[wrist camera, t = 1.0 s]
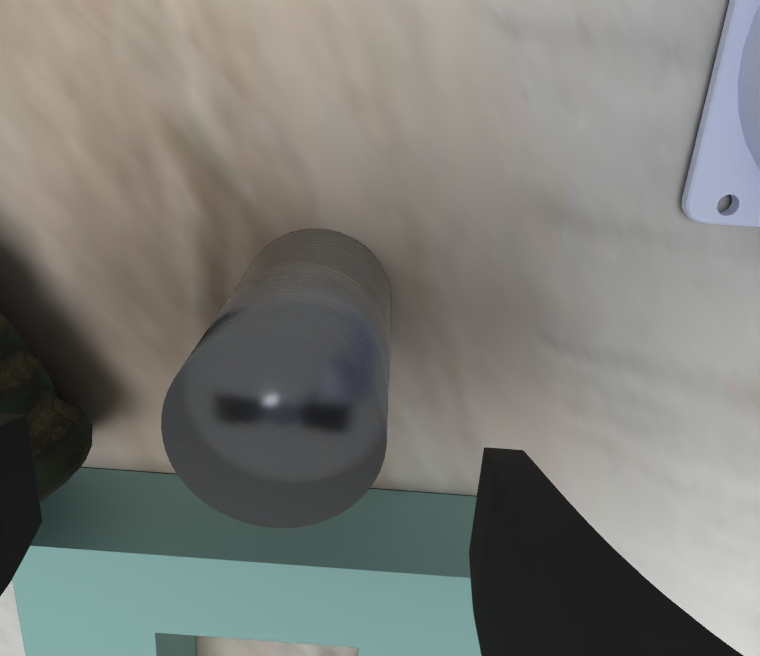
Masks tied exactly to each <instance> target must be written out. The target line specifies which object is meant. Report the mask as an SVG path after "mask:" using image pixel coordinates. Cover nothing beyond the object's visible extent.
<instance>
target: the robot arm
mask: <svg viewBox="0 0 760 656" xmlns="http://www.w3.org/2000/svg"><path fill="white" fill-rule="evenodd" d="M725 195H731V197H732V203H731V205H730V207H729V208H728V209H727V210H725V211H724V212H718V210H717V204H718V202H719V200H720V199H721V198H722V197H724V196H725ZM682 209H683V212H684V214H685V215H686V216H688V217H689V218H690V219H692V220H693V221H695V222H699V223H704V224H718V225H731V226H745V227H759V228H760V0H730V1H729V5H728V9H727V14H726V18H725V22H724V26H723V30H722V34H721V39H720V43H719V47H718V51H717V55H716V59H715V64H714V68H713V72H712V76H711V80H710V84H709V89H708V93H707V97H706V101H705V105H704V109H703V114H702V118H701V122H700V126H699V130H698V134H697V139H696V143H695V147H694V151H693V155H692V159H691V164H690V168H689V172H688V176H687V180H686V184H685V189H684V193H683V197H682ZM41 523H42V516H41V509H40V502H39V496H38V489H37V482H36V476H35V469H34V462H33V456H32V449H31V443H30V436H29V429H28V423H27V416H26V415H25V414H11V413H0V596H1V595H2V593H3V592H4V590H5V589H6V587H7V586H8V584H9V583H10V581H11V580H12V578H13V577H14V575H15V573H16V571H17V569H18V568H19V566H20V564H21V562H22V560H23V558H24V557H25V555H26V553H27V551H28V549H29V547H30V545H31V543H32V541H33V539H34V537H35V535H36V533H37V531H38V529H39V527H40V525H41ZM469 562H470V578H471V592H472V604H473V614H474V619H475V625H476V630H477V635H478V640H479V646H480V651H481V656H743V655H741V654H740V653H739V652H737V651H736V650H734V649H733V648H732V647H730V646H729V645H727V644H726V643H725V642H723V641H722V640H721V639H719V638H718V637H717V636H715V635H714V634H713V633H711V632H710V631H709V630H707V629H706V628H705V627H704V626H702V625H701V624H700V623H699V622H697V621H696V620H695V619H694V618H692V617H691V616H690V615H689V614H687V613H686V612H685V611H684V610H682V609H681V608H680V607H679V606H677V605H676V604H675V603H674V602H672V601H671V600H670V599H669V598H667V597H666V596H665V595H664V594H663V593H662V592H660V591H659V590H658V589H657V588H656V587H655V586H653V585H652V584H651V583H650V582H649V581H648V580H647V579H646V578H644V577H643V576H642V575H641V574H640V573H639V572H638V571H637V570H636V569H635V568H634V567H633V566H632V565H630V564H629V563H628V562H627V561H626V560H625V559H624V558H623V557H622V556H621V555H620V554H619V553H618V552H617V551H616V550H614V549H613V548H612V547H611V546H610V545H609V544H608V543H607V542H606V541H605V540H604V539H603V538H602V537H601V536H600V535H599V534H598V533H597V531H596V530H595V529H594V528H593V527H592V526H591V525H590V524H589V523H588V522H587V521H586V520H585V519H584V518H583V517H582V516H581V515H580V514H579V513H578V512H577V510H576V509H575V508H574V507H573V506H572V505H571V504H570V503H569V502H568V501H567V500H566V498H565V497H564V496H563V495H562V494H561V493H560V492H559V491H558V489H557V488H556V487H555V486H554V485H553V484H552V483H551V481H550V480H549V479H548V478H547V477H546V476H545V475H544V473H543V472H542V471H541V470H540V469H539V468H538V466H537V465H536V464H535V463H534V462H533V461H532V460H531V458H530V457H529V456H528V455H527V454H526V453H525V452H524V451H523V450H512V449H498V448H484V453H483V459H482V466H481V473H480V480H479V486H478V493H477V500H476V507H475V513H474V520H473V527H472V534H471V540H470V547H469Z"/></svg>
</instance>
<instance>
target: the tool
mask: <svg viewBox="0 0 760 656" xmlns="http://www.w3.org/2000/svg"><path fill="white" fill-rule="evenodd" d="M0 413H11V414H25V415H26V416H27V423H28V429H29V436H30V443H31V449H32V456H33V462H34V469H35V476H36V482H37V489H38V496H39V502H41V501H42V500H44V499H45V498H47V497H48V496H49V495H51V494H52V493H53V492H55V491H56V490H57V489H58V488H60V487H61V486H62V485H64V484H65V483H66V482H67V481H68V480H69V479H70V478H71V477H72V476H73V474H74V473H75V472H77V471H78V470H79V468H80V467H81V465H82V464H83V463H84V461H85V460H86V458H87V456H88V453H89V451H90V448H91V446H92V424H91V422H90V420H89V418H88V417H87V415H86V414H85V412H84V411H83V410H82V409H81V408H79V407H77V406H75V405H72V404H69V403H66V402H64V401H62V400H61V399H59V398H58V397H57V396H56V393H55V390H54V387H53V383H52V380H51V378H50V376H49V374H48V372H47V371H46V369H45V368H44V367H43V366H42V364H41V363H40V362H39V361H38V360H37V359H36V358H35V357H34V356H32V355H31V353H30V352H29V350H28V349H27V348H26V346H25V343H24V342H23V340H22V338H21V336H20V335H19V334H18V332H17V330H16V329H15V327H14V326H13V325H12V323H11V322H10V321H9V320H8V319H7V318H6V317H5V316H4V314H3V313H2V312H1V311H0Z"/></svg>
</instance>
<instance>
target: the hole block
mask: <svg viewBox="0 0 760 656" xmlns="http://www.w3.org/2000/svg"><path fill="white" fill-rule="evenodd" d="M476 500H477V497H476V496H462V495H448V494H435V493H421V492H407V491H394V490H380V489H369V490H368V491H367V492H366V493H365V494H364V495H363V497H362V498H361V499H360V500H359V501H357V502H356V503H355V504H354V505H353V506H351V507H350V508H349V509H347V510H345V511H344V512H342V513H341V514H339V515H337V516H335V517H333V518H330V519H328V520H326V521H323V522H320V523H317V524H313V525H308V526H303V527H296V528H269V527H261V526H256V525H252V524H248V523H244V522H241V521H238V520H236V519H233V518H230V517H228V516H226V515H224V514H222V513H220V512H218V511H217V510H215V509H213V508H212V507H210V506H208V505H207V504H206V503H204V502H203V501H202V500H201V499H199V498H198V497H197V496H196V495H195V494H194V493H193V492H192V491H191V490H190V489H189V488H188V487H187V486H186V485H185V484H184V482H183V481H182V480H181V479H180V477H179V476H178V475H176V474H162V473H149V472H135V471H121V470H108V469H94V468H79V470H78V471H77V472H75V473H74V474H73V476H72V477H71V478H70V479H69V480H68V481H67V482H66V483H65V484H64V485H62V486H61V487H60V488H58V489H57V490H56V491H55V492H53V493H52V494H51V495H49V496H48V497H47V498H45V499H44V500H42V501H41V502H40V509H41V516H42V523H41V525H40V527H39V529H38V531H37V533H36V535H35V537H34V539H33V541H32V543H31V545H30V547H29V549H28V551H27V553H26V555H25V557H24V558H23V560H22V562H21V564H20V566H19V568H18V569H17V571H16V573H15V575H14V577H13V578H12V582H13V588H14V593H15V599H16V604H17V610H18V615H19V621H20V626H21V632H22V638H23V643H24V649H25V654H26V656H196V636H208V637H222V638H235V639H249V640H262V641H276V642H290V643H303V644H317V645H331V646H344V647H358V656H481V651H480V646H479V640H478V635H477V630H476V625H475V619H474V614H473V604H472V592H471V578H470V562H469V547H470V540H471V534H472V527H473V520H474V513H475V507H476Z"/></svg>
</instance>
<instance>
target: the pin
mask: <svg viewBox="0 0 760 656" xmlns="http://www.w3.org/2000/svg"><path fill="white" fill-rule="evenodd" d="M390 327H391V291H390V286H389V282H388V278H387V276H386V274H385V271H384V269H383V268H382V266H381V264H380V263H379V261H378V260H377V259H376V257H375V256H374V255H373V254H372V253H371V252H370V251H369V250H368V249H367V248H366V247H365V246H363V245H362V244H361V243H359V242H358V241H356V240H355V239H353V238H351V237H349V236H347V235H344V234H342V233H339V232H335V231H332V230H326V229H304V230H298V231H295V232H291V233H288V234H286V235H283V236H281V237H280V238H278V239H276V240H274V241H273V242H272V243H270V244H269V245H268V246H266V248H265V249H264V250H263V251H262V252H261V253H260V254H259V255H258V257H257V258H256V259H255V261H254V262H253V264H252V265H251V267H250V268H249V270H248V271H247V272H246V274H245V275H244V277H243V278H242V280H241V281H240V283H239V284H238V286H237V287H236V289H235V290H234V292H233V293H232V295H231V296H230V297H229V299H228V300H227V302H226V303H225V305H224V306H223V308H222V309H221V311H220V312H219V314H218V315H217V317H216V318H215V320H214V321H213V322H212V324H211V325H210V327H209V328H208V330H207V331H206V333H205V334H204V336H203V337H202V339H201V340H200V342H199V343H198V345H197V346H196V347H195V349H194V350H193V352H192V353H191V355H190V356H189V358H188V359H187V361H186V362H185V364H184V365H183V367H182V368H181V370H180V371H179V373H178V374H177V375H176V377H175V378H174V380H173V382H172V384H171V386H170V388H169V390H168V392H167V395H166V398H165V401H164V404H163V410H162V424H161V429H162V436H163V442H164V446H165V449H166V453H167V455H168V457H169V460H170V462H171V464H172V466H173V468H174V469H175V471H176V473H177V474H178V476H179V477H180V479H181V480H182V481H183V482H184V484H185V485H186V486H187V487H188V488H189V489H190V490H191V491H192V492H193V493H194V494H195V495H196V496H197V497H198V498H199V499H201V500H202V501H203V502H204V503H206V504H207V505H208V506H210V507H212V508H213V509H215V510H217V511H218V512H220V513H222V514H224V515H226V516H228V517H230V518H233V519H236V520H238V521H241V522H244V523H248V524H252V525H256V526H261V527H269V528H296V527H303V526H308V525H313V524H317V523H320V522H323V521H326V520H328V519H330V518H333V517H335V516H337V515H339V514H341V513H342V512H344V511H345V510H347V509H349V508H350V507H351V506H353V505H354V504H355V503H356V502H357V501H359V500H360V499H361V498H362V497H363V495H364V494H365V493H366V492H367V491H368V490H369V488H370V487H371V486H372V484H373V483H374V481H375V480H376V478H377V476H378V474H379V472H380V470H381V467H382V463H383V460H384V457H385V451H386V443H387V414H388V385H389V356H390Z"/></svg>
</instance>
